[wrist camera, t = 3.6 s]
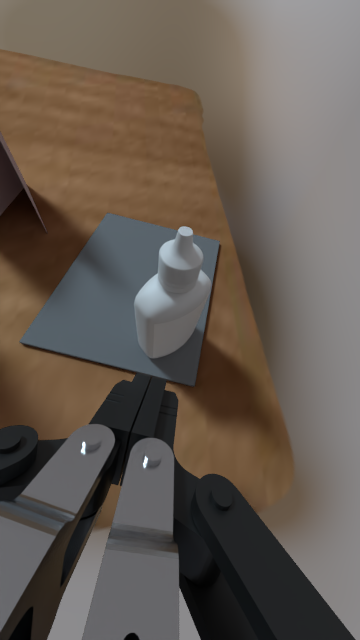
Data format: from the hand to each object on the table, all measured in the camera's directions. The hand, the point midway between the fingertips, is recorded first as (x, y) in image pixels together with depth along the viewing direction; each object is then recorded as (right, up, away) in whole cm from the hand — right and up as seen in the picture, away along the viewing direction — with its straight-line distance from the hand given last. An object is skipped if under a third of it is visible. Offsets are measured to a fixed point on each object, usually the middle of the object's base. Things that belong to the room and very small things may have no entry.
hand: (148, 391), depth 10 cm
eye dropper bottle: (0, +2, +10) cm, 10 cm away
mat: (-3, +8, +13) cm, 16 cm away
